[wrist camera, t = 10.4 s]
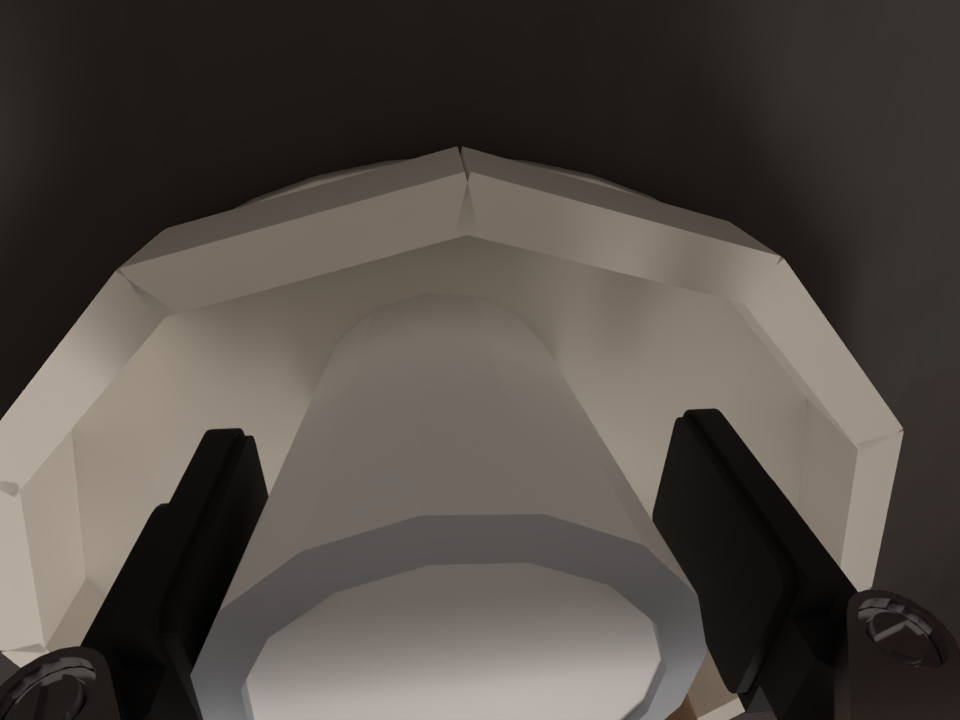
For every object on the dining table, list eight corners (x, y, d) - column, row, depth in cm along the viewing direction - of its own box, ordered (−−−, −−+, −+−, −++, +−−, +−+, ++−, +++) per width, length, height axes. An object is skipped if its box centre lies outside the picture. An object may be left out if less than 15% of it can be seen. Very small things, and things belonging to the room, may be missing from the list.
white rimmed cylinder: (331, 521, 15) (279, 845, 9) (250, 289, 12) (80, 577, 6) (582, 483, 15) (689, 777, 10) (579, 244, 12) (748, 475, 6)
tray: (927, 501, 19) (1008, 578, 16) (459, 770, 25) (463, 853, 23) (456, -134, 9) (469, -190, 7) (-91, 561, 16) (-188, 665, 13)
